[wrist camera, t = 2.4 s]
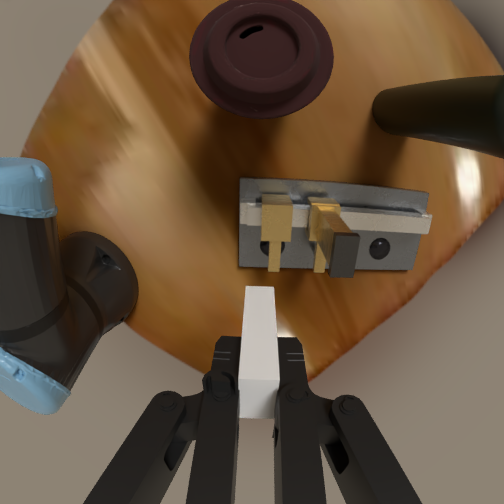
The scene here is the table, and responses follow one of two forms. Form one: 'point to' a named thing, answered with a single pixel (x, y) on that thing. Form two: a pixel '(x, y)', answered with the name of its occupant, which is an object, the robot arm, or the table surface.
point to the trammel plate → (345, 200)
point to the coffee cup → (261, 57)
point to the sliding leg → (331, 238)
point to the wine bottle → (447, 112)
